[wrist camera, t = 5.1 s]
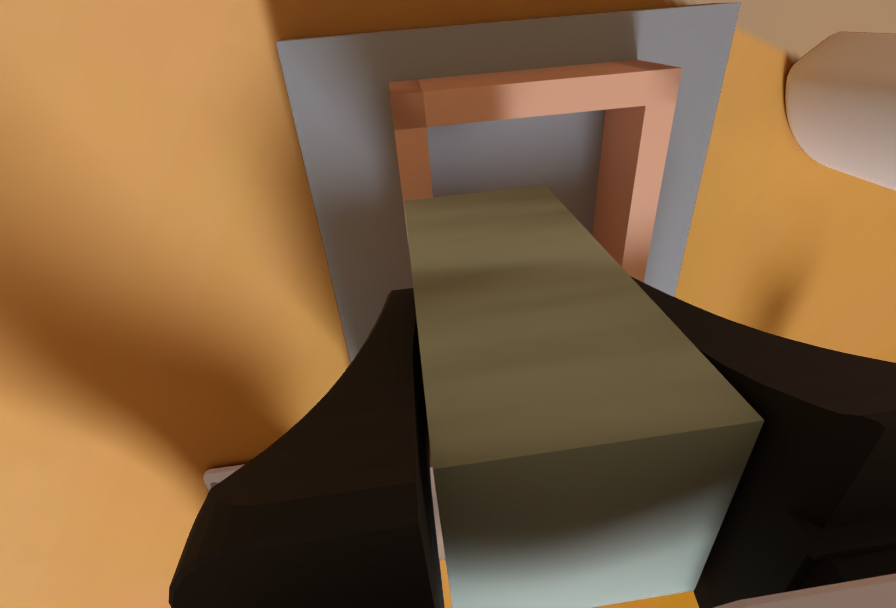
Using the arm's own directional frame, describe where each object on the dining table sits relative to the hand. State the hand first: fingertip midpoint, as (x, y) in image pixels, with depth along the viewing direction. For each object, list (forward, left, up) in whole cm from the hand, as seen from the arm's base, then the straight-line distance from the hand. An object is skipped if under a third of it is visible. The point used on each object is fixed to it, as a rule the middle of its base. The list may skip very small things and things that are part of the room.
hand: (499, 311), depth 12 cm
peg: (0, 0, -3) cm, 3 cm away
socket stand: (-3, -2, -10) cm, 11 cm away
